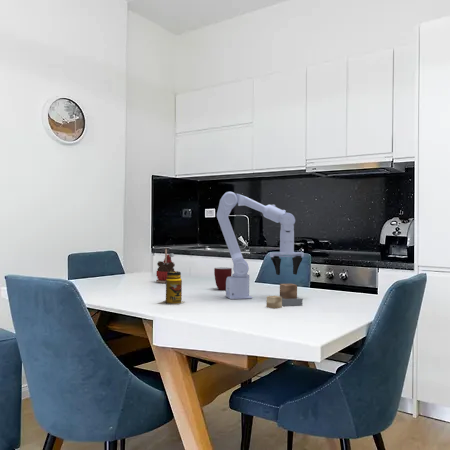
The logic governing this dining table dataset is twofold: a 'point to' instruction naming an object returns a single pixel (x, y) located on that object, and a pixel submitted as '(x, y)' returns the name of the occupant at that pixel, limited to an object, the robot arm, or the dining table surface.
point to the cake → (164, 267)
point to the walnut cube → (288, 291)
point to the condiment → (173, 288)
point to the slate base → (292, 302)
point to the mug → (222, 276)
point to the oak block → (274, 302)
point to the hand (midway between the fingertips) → (286, 274)
